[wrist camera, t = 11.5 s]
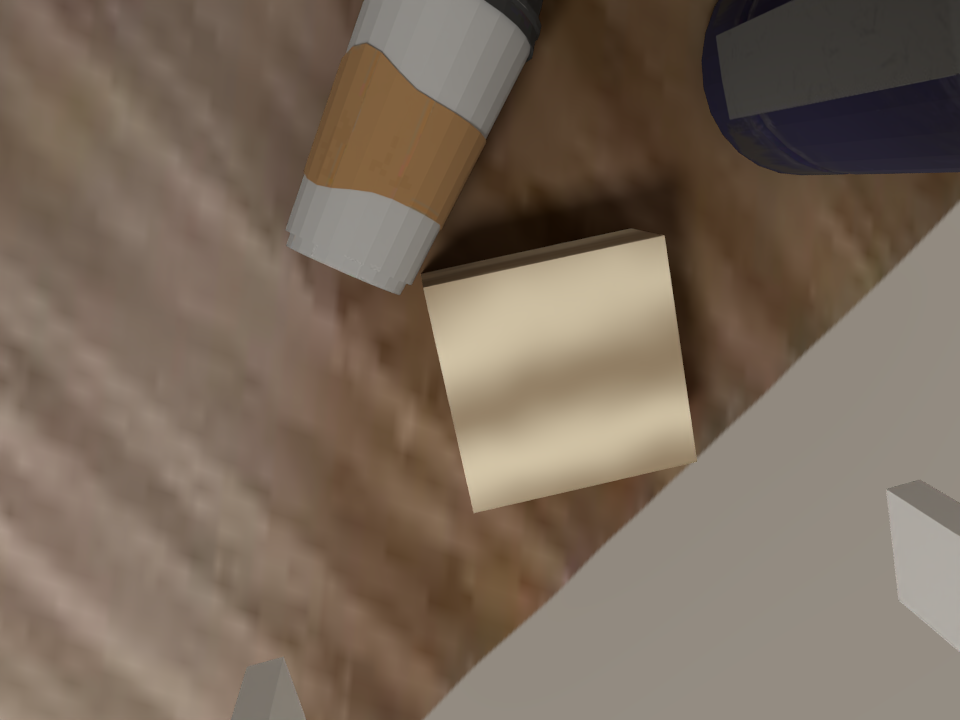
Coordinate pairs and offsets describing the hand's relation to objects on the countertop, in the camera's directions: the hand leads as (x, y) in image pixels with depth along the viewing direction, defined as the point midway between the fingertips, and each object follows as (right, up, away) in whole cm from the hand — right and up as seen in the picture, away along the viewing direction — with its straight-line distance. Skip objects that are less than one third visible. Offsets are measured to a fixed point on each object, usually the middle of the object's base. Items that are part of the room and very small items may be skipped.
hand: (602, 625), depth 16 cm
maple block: (+1, +6, +28) cm, 29 cm away
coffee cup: (-9, +10, +20) cm, 24 cm away
